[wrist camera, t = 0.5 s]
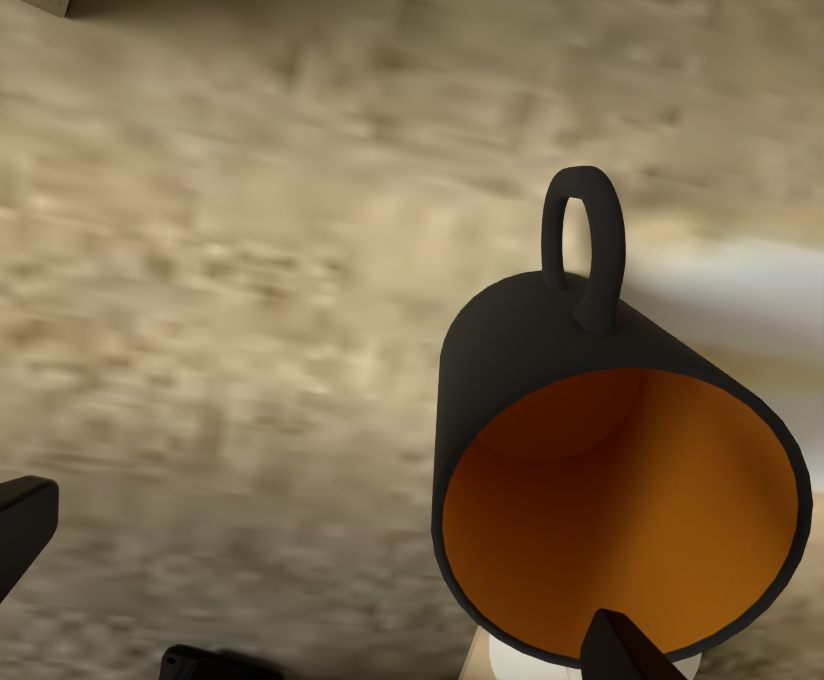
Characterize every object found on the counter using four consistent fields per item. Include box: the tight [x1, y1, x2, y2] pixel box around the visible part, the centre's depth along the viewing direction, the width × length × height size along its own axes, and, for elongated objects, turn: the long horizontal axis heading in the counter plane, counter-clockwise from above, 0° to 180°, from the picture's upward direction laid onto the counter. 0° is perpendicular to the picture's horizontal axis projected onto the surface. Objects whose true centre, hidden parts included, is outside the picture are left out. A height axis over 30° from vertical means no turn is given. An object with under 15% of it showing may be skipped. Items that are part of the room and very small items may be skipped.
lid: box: [488, 633, 702, 680], centre depth 23 cm, size 10×10×4 cm
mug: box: [431, 166, 813, 670], centre depth 16 cm, size 8×12×10 cm
